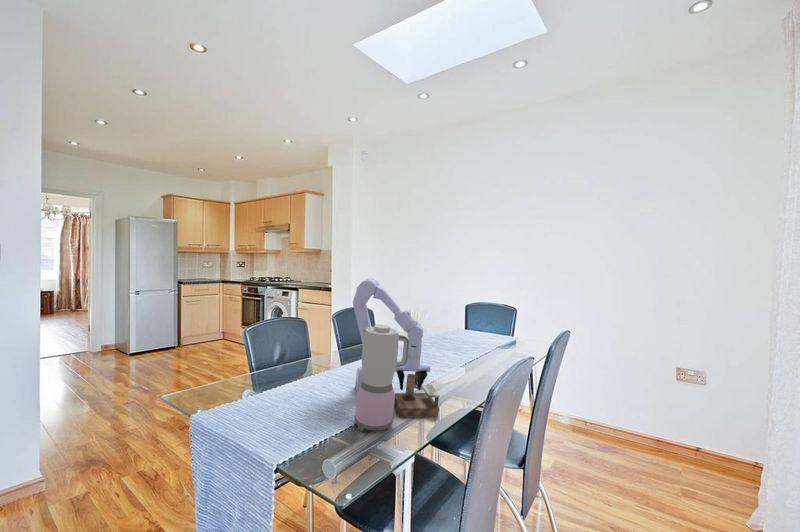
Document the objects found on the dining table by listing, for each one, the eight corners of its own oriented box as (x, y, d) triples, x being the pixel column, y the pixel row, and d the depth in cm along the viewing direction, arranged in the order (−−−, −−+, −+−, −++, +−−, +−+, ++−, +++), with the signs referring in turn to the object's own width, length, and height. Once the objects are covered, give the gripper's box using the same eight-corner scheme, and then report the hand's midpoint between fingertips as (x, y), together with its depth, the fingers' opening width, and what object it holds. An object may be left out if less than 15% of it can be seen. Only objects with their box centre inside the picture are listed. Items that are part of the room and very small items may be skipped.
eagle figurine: (427, 385, 147) (428, 374, 156) (419, 371, 146) (420, 360, 155) (411, 392, 148) (412, 380, 157) (403, 378, 147) (405, 367, 156)
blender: (357, 435, 106) (366, 330, 104) (351, 415, 118) (359, 321, 116) (406, 431, 111) (416, 331, 109) (396, 413, 122) (404, 322, 120)
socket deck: (399, 416, 120) (401, 396, 119) (392, 401, 132) (393, 382, 131) (438, 416, 123) (440, 396, 123) (427, 400, 135) (429, 382, 134)
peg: (406, 397, 136) (408, 376, 136) (404, 393, 139) (406, 373, 139) (414, 396, 137) (416, 376, 137) (412, 393, 140) (414, 373, 140)
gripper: (397, 358, 132) (394, 393, 133) (434, 358, 135) (430, 393, 136) (393, 352, 139) (390, 386, 139) (428, 353, 142) (425, 385, 143)
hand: (410, 389), depth 138 cm, fingers open, 6 cm apart
